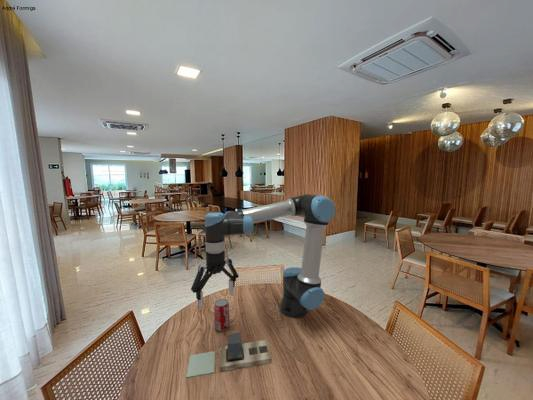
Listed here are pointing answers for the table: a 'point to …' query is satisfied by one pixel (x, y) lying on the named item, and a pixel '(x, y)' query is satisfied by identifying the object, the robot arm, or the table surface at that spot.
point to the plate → (247, 356)
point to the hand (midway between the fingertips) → (216, 300)
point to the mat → (201, 364)
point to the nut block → (234, 347)
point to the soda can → (221, 315)
